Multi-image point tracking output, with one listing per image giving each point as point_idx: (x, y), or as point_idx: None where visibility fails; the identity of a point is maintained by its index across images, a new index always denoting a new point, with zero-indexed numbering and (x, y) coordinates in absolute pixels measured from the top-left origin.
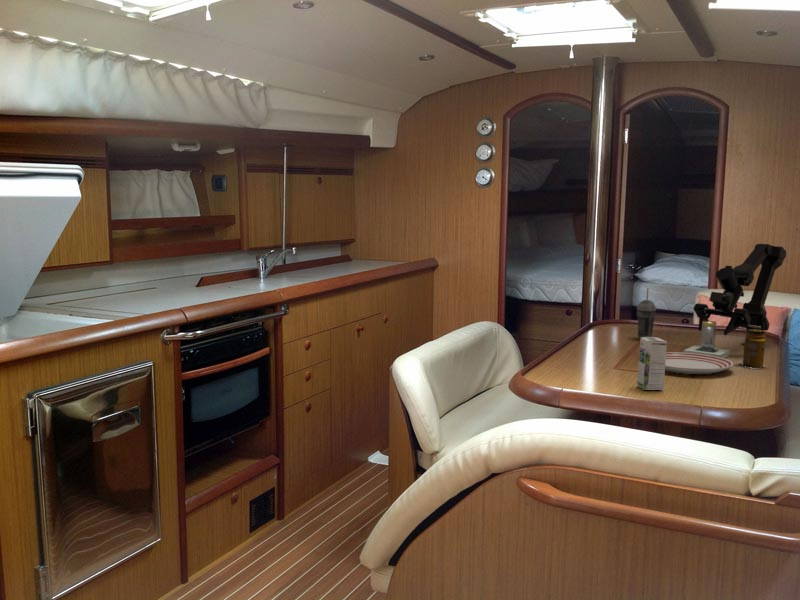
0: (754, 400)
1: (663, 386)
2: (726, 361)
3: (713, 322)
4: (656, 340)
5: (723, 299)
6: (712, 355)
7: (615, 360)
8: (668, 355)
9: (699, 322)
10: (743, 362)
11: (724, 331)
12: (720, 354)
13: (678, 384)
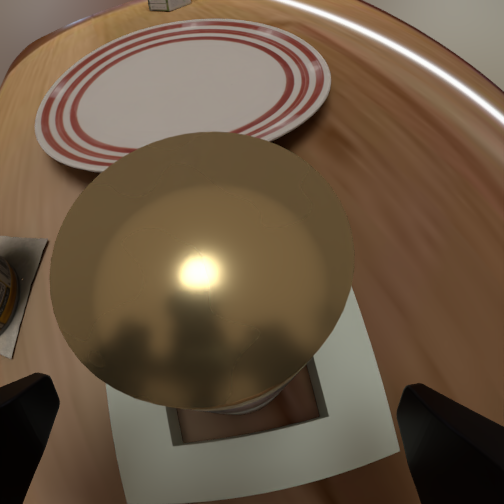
0: (31, 61)
1: (148, 4)
2: (54, 145)
3: (88, 214)
4: None
5: None
6: None
7: (364, 56)
8: (295, 108)
9: (498, 428)
10: (9, 266)
11: (33, 383)
12: None
13: (141, 28)
